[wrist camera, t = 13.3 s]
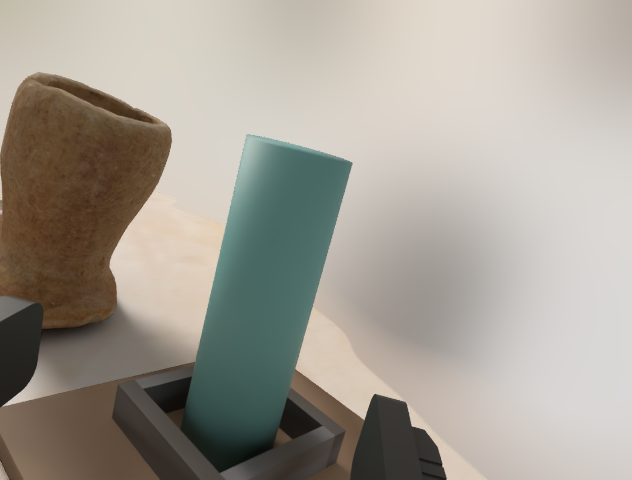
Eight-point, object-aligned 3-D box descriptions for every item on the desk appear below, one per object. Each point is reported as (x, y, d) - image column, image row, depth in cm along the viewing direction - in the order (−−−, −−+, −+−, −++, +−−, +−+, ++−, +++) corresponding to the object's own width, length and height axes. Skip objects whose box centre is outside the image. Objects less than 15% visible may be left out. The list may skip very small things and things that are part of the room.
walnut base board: (122, 714, 13) (139, 635, 12) (-14, 429, 21) (-8, 373, 20) (420, 482, 25) (436, 436, 24) (260, 359, 33) (269, 322, 32)
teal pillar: (215, 491, 19) (300, 153, 16) (160, 428, 22) (224, 128, 19) (290, 454, 23) (373, 168, 20) (234, 403, 25) (299, 145, 22)
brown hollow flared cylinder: (156, 341, 32) (201, 115, 28) (-73, 348, 25) (-51, 54, 22) (117, 259, 44) (144, 94, 40) (-45, 250, 37) (-28, 51, 34)
